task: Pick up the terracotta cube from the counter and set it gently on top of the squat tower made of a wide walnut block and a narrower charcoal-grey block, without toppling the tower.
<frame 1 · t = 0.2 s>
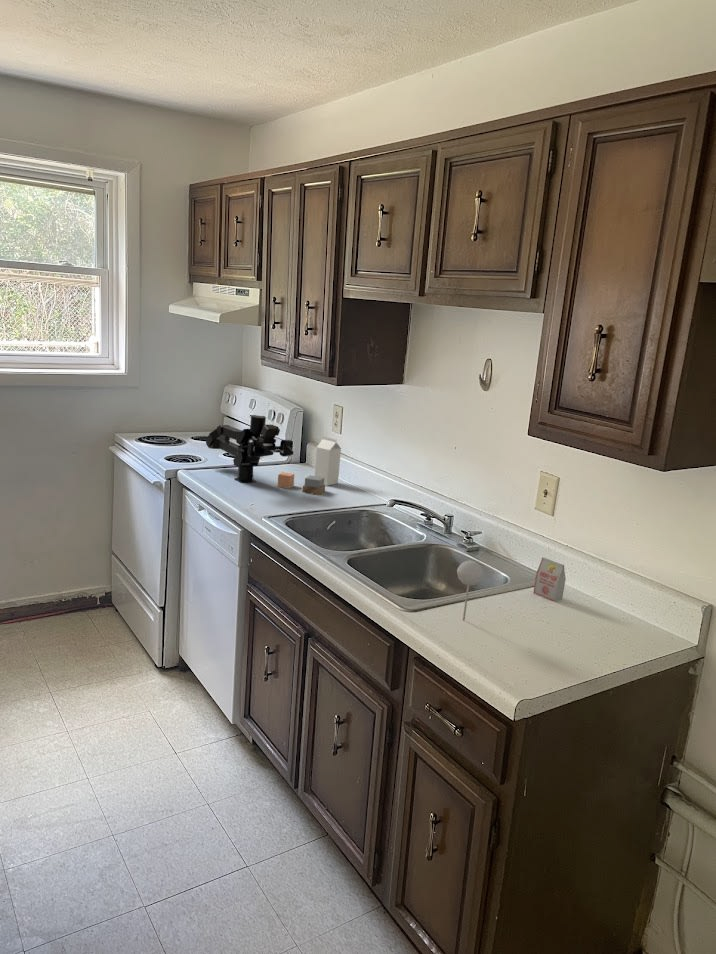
hand: (282, 453, 265), 16 cm above the worktop, tool horizontal, fingers open, 9 cm apart
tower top: (314, 485, 280), point 2 cm above the worktop, touching tower bottom
milk carton: (325, 483, 296), on the worktop
lollipop: (463, 620, 173), on the worktop
tower bottom: (313, 492, 280), on the worktop, touching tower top
tea bag: (547, 596, 193), on the worktop
terracotta cube: (285, 486, 285), on the worktop
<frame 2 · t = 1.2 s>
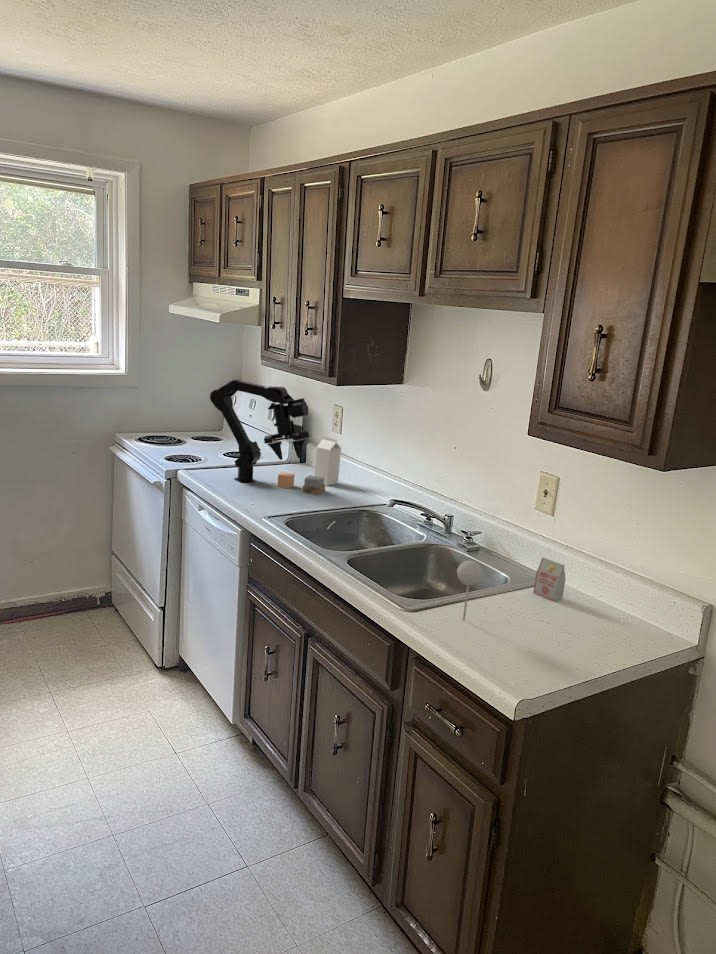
hand: (290, 458, 280), 12 cm above the worktop, tool tilted 15°, fingers open, 9 cm apart
nothing on the worktop moved.
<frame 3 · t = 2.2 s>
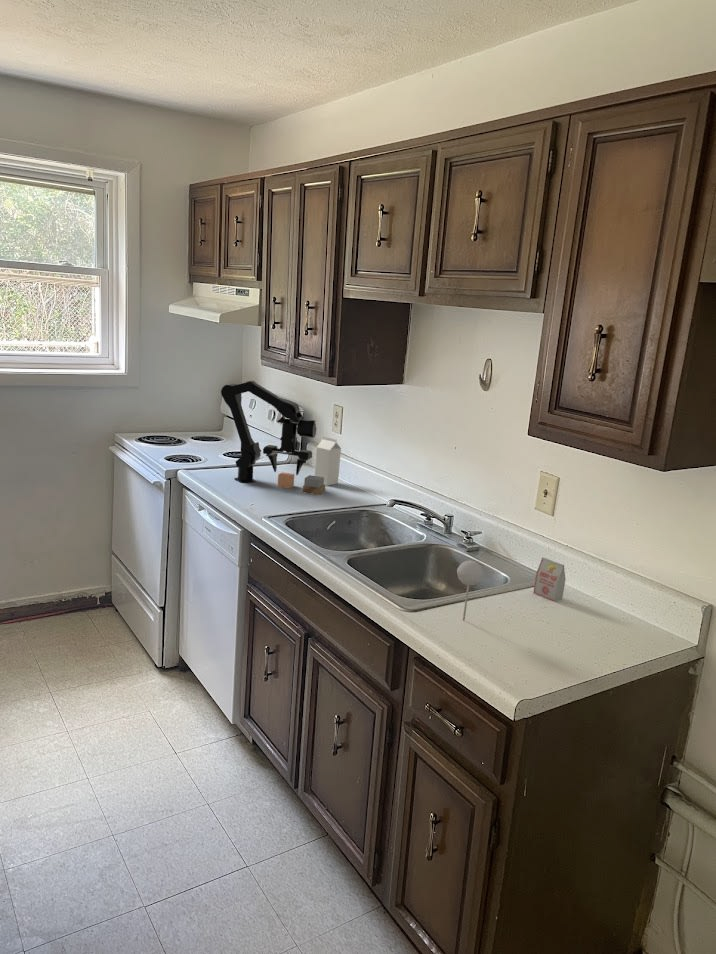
hand: (286, 473, 284), 5 cm above the worktop, tool pointing down, fingers open, 9 cm apart
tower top: (313, 485, 280), point 3 cm above the worktop
tower bottom: (313, 492, 281), on the worktop
everything else where it was.
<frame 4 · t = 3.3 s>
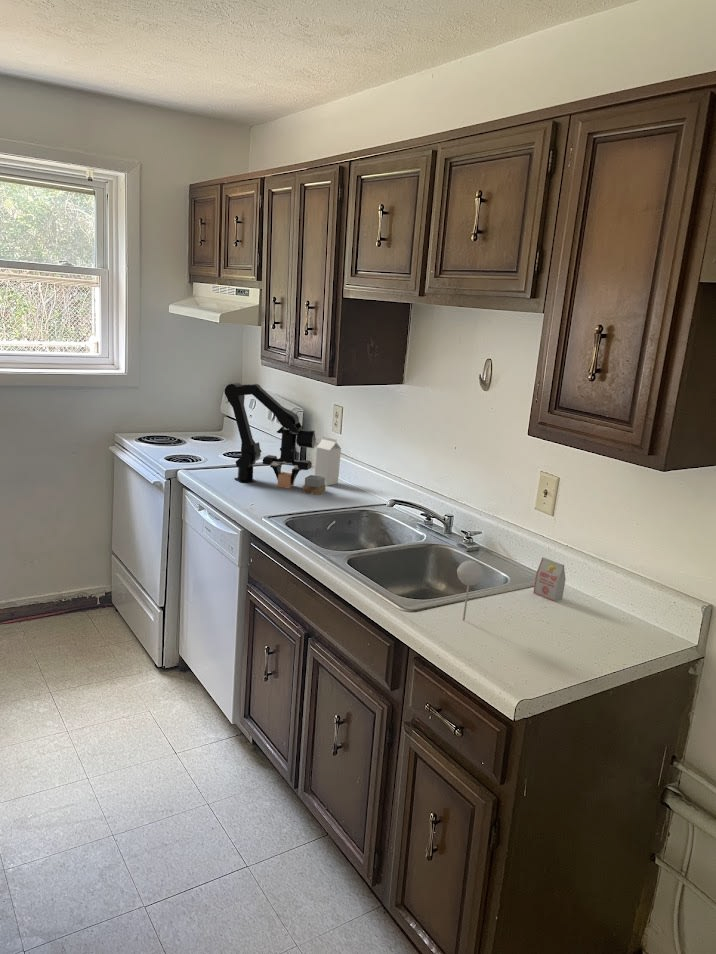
hand: (285, 483, 285), 1 cm above the worktop, tool pointing down, fingers closed on terracotta cube, 5 cm apart
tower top: (314, 484, 280), point 3 cm above the worktop, touching tower bottom
tower bottom: (313, 492, 280), on the worktop, touching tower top
terracotta cube: (285, 486, 285), on the worktop, touching gripper
everything else where it was.
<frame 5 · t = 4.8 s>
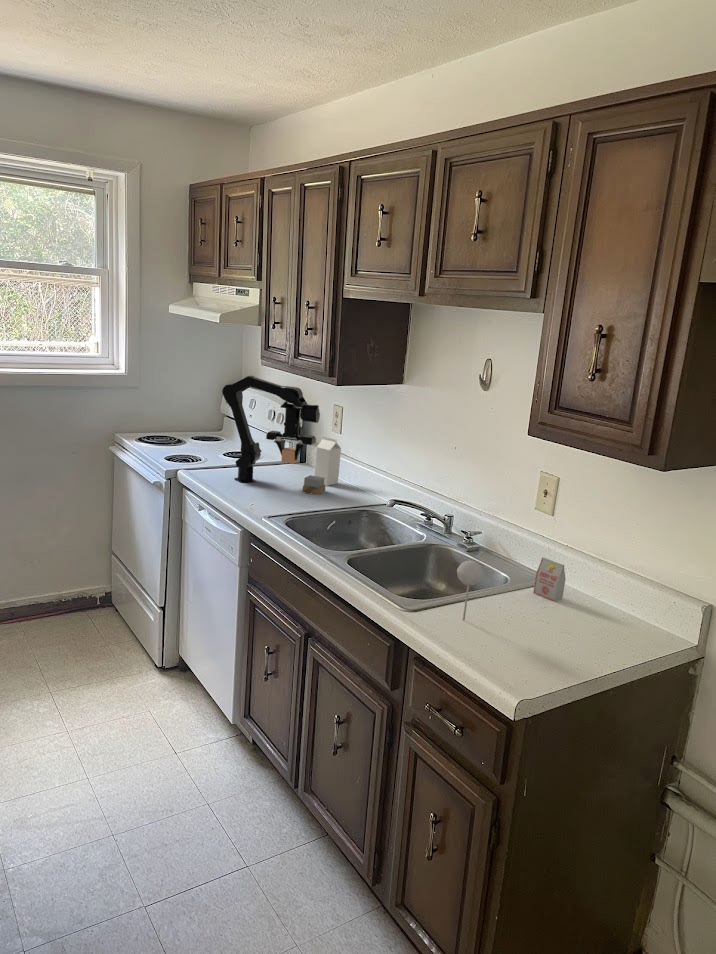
hand: (289, 459, 282), 11 cm above the worktop, tool pointing down, fingers closed on terracotta cube, 5 cm apart
terracotta cube: (289, 461, 282), point 10 cm above the worktop, touching gripper
everything else where it was.
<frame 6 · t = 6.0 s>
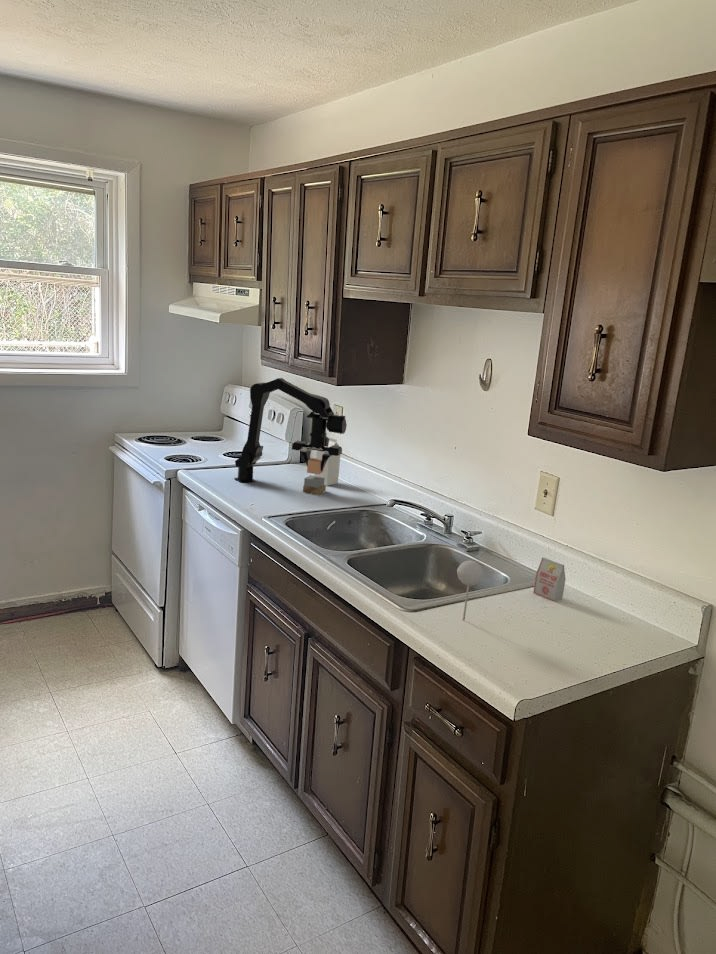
hand: (315, 469, 278), 9 cm above the worktop, tool pointing down, fingers closed on terracotta cube, 5 cm apart
terracotta cube: (315, 472, 279), point 8 cm above the worktop, touching gripper
everything else where it was.
when the fingers open (8 cm above the worktop, at t = 6.4 s): terracotta cube drops 2 cm, resting on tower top.
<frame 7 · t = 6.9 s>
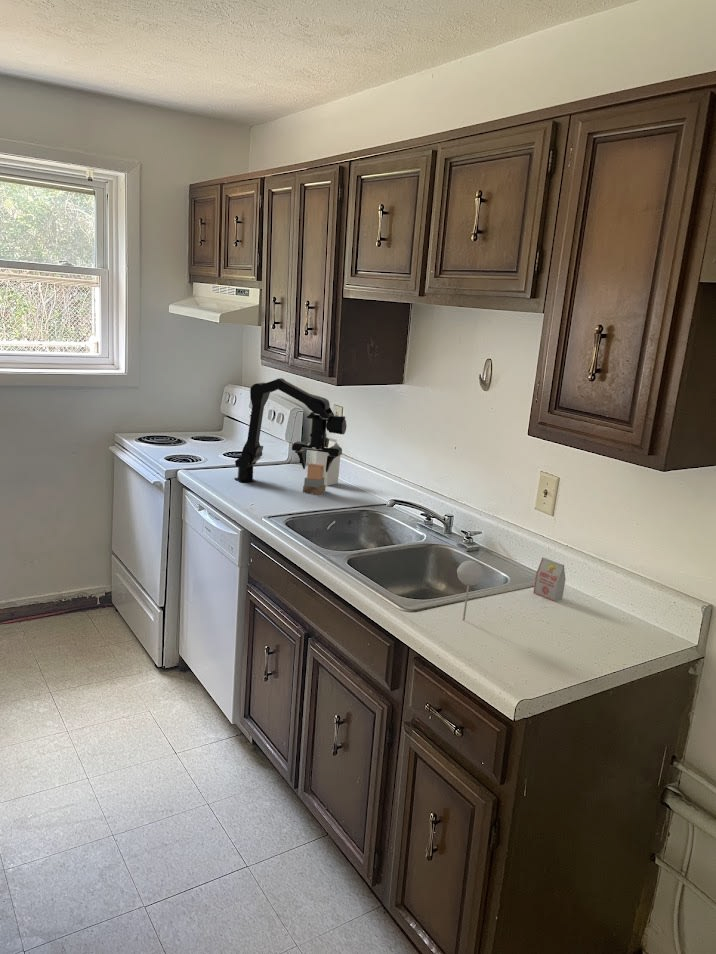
hand: (315, 470, 278), 8 cm above the worktop, tool pointing down, fingers open, 9 cm apart
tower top: (314, 485, 280), point 3 cm above the worktop, touching terracotta cube, tower bottom
terracotta cube: (315, 477, 279), point 6 cm above the worktop, touching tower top
everything else where it was.
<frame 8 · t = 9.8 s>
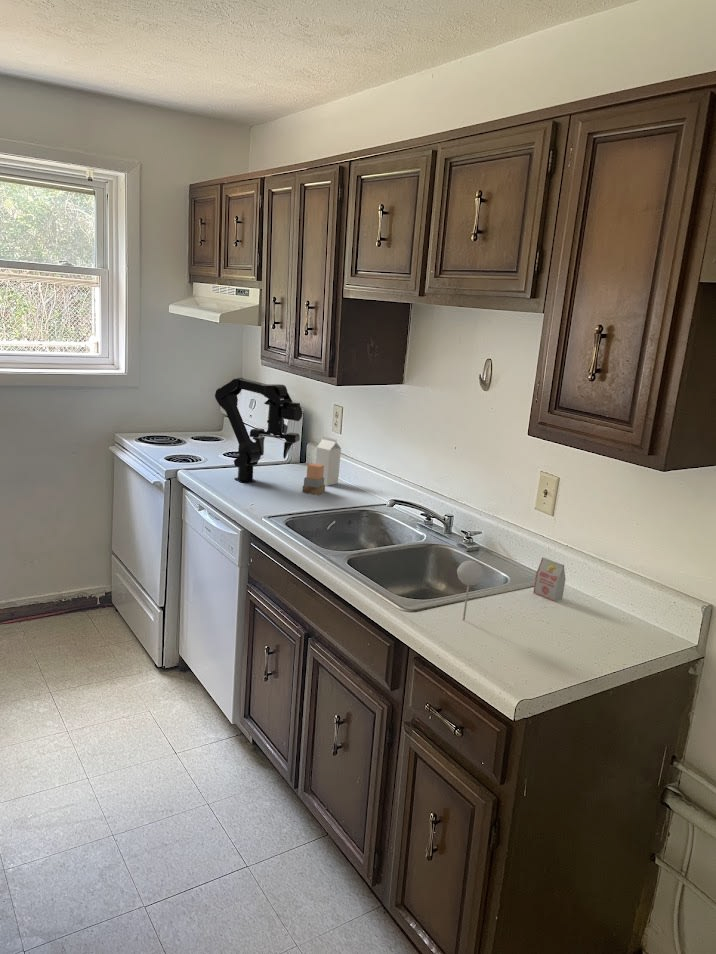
hand: (273, 456, 279), 12 cm above the worktop, tool pointing down, fingers open, 9 cm apart
nothing on the worktop moved.
at the end: terracotta cube 0.4 cm off-centre on the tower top, point 3.0 cm above the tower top's base; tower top tilted 0°; tower bottom moved 0.4 cm from its start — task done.
